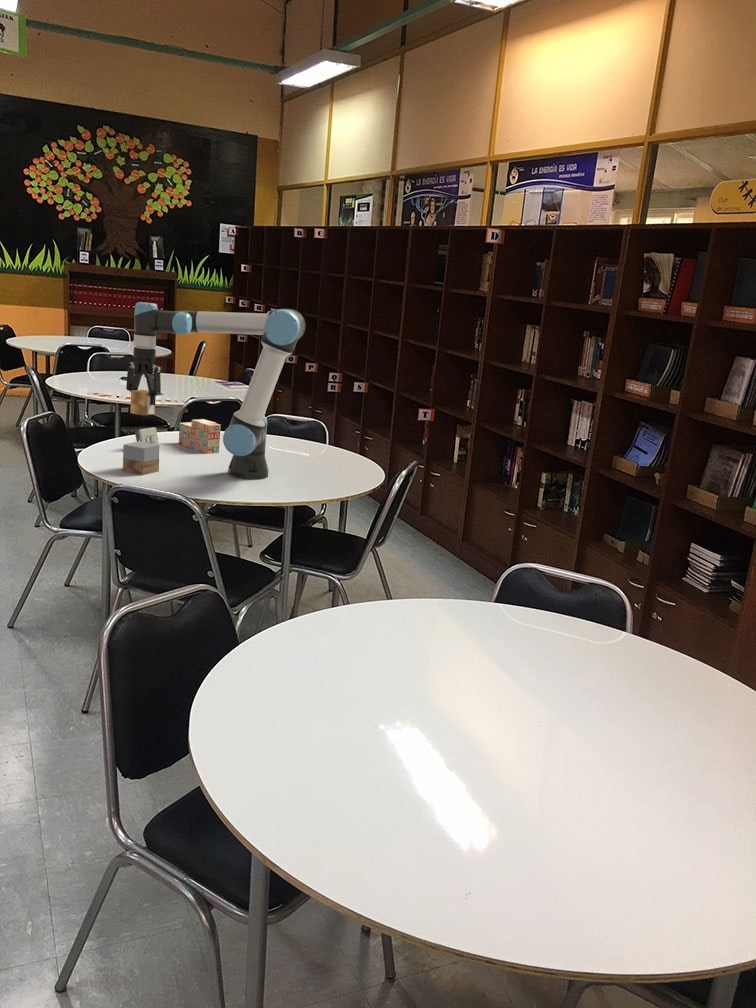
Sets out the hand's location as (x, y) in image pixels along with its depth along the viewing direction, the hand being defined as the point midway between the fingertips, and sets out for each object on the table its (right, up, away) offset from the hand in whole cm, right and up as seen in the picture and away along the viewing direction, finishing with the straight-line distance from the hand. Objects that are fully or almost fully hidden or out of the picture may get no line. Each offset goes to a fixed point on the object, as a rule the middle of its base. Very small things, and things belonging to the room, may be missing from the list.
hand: (142, 412), depth 297 cm
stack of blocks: (+8, -10, +54) cm, 56 cm away
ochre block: (0, 0, 0) cm, 0 cm away
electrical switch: (-10, -11, +41) cm, 43 cm away
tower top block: (-2, -16, +4) cm, 17 cm away
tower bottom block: (-2, -21, +5) cm, 22 cm away
